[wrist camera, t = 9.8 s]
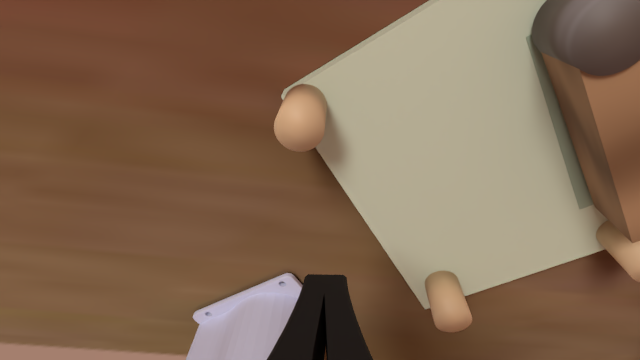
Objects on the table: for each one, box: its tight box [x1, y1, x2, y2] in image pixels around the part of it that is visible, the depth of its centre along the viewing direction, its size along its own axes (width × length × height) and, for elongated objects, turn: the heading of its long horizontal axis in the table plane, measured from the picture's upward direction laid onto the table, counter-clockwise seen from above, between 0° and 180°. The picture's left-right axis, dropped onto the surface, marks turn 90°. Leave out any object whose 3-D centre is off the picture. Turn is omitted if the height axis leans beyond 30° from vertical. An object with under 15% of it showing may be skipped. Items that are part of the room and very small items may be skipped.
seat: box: [274, 0, 640, 332], centre depth 19 cm, size 14×18×4 cm
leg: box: [532, 0, 640, 243], centre depth 16 cm, size 12×3×3 cm, turn 33°
